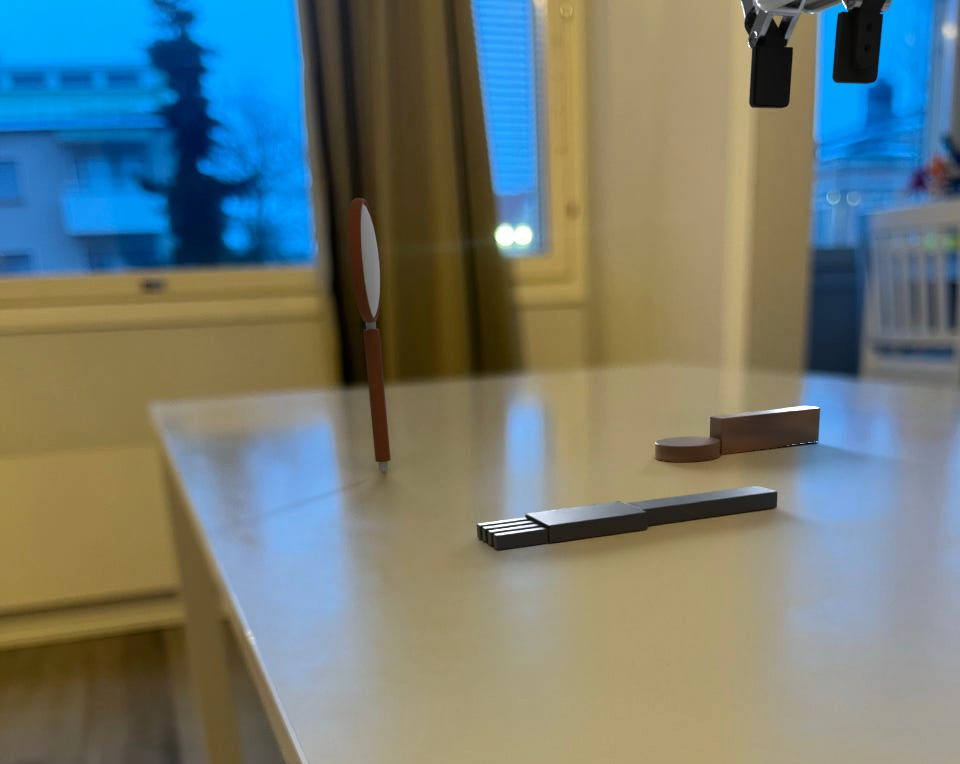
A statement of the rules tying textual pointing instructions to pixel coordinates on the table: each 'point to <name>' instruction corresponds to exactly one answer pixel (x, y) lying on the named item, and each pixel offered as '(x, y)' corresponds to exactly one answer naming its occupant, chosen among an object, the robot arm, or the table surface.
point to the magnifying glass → (369, 318)
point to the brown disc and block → (744, 434)
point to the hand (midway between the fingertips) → (809, 95)
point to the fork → (620, 517)
